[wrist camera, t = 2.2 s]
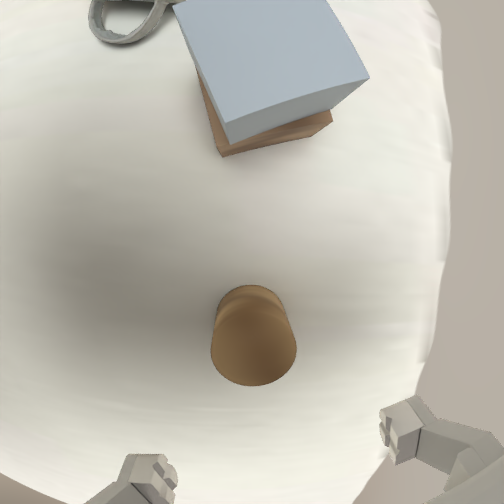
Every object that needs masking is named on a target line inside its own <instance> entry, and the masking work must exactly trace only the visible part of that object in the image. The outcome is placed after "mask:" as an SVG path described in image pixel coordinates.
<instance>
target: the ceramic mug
mask: <svg viewBox="0 0 504 504" xmlns="http://www.w3.org/2000/svg"><path fill="white" fill-rule="evenodd" d="M105 1H120V0H92V2H91V4H90V9H89V15H88V20H89V27H90V29H91V31H92V33H93V34H94V35H95V36H96V37H97V38H98V39H100V40H102V41H105V42H108V43H119V44H124V43H131V42H134V41H137V40H139V39H141V38H142V37H144V36H145V35H147V34H148V33H149V32H150V31H151V30H152V29H153V28H154V27H155V25H156V24H157V22H158V21H159V19H160V18H161V16H162V14H163V12H164V10H165V8H166V6H167V5H168V3H181V2H183V1H186V0H133V1H148V2H155V3H154V6H153V8H152V9H151V11H150V12H149V14H148V16H147V17H146V19H145V20H144V22H143V23H142V24H141V25H140V26H139V27H138V28H137V29H135V30H134V31H132V32H131V33H130V34H129V35H120V34H116V33H113V32H112V31H111V30H104V28H103V25H102V17H101V16H102V9H103V5H104V2H105ZM131 1H132V0H131Z"/></svg>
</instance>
